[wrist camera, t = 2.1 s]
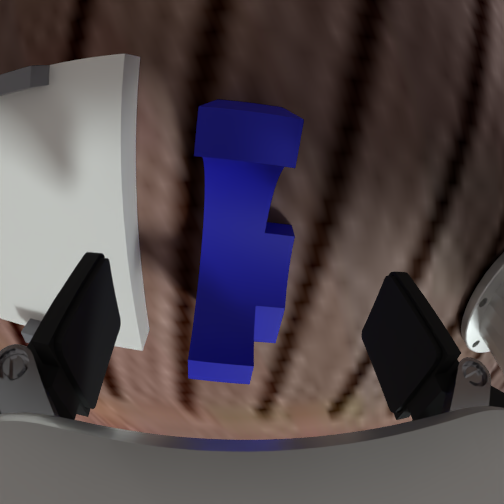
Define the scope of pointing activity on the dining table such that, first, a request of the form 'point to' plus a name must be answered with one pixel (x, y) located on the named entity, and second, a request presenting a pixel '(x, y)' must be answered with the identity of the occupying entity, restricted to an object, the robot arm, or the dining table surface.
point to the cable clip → (240, 236)
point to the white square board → (69, 186)
